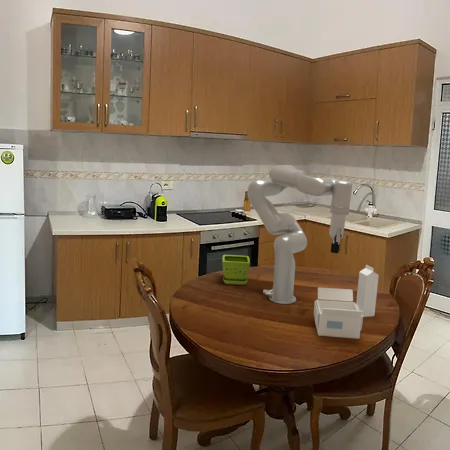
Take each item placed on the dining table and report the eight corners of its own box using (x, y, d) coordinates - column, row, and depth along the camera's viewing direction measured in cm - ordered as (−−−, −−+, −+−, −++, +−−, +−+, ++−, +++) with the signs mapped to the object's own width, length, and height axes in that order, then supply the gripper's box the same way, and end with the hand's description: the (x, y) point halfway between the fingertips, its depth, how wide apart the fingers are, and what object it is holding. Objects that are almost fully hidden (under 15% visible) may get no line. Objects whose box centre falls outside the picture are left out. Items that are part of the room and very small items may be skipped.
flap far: (353, 301, 206) (352, 301, 206) (352, 289, 208) (352, 290, 209) (317, 298, 207) (317, 299, 207) (317, 287, 209) (317, 287, 210)
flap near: (321, 313, 191) (321, 314, 190) (323, 307, 186) (323, 308, 186) (360, 316, 190) (360, 317, 189) (362, 310, 185) (362, 311, 185)
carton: (316, 335, 193) (318, 313, 191) (312, 319, 209) (314, 299, 207) (361, 338, 192) (363, 317, 190) (354, 322, 207) (356, 302, 205)
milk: (362, 317, 214) (367, 268, 209) (355, 312, 220) (359, 264, 215) (374, 316, 216) (379, 268, 211) (367, 311, 221) (371, 264, 217)
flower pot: (248, 286, 248) (250, 262, 245) (221, 285, 248) (222, 261, 245) (247, 278, 261) (249, 255, 259) (221, 277, 261) (222, 254, 259)
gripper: (328, 206, 211) (324, 247, 216) (332, 212, 197) (327, 256, 201) (346, 207, 211) (341, 248, 215) (351, 214, 196) (345, 258, 200)
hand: (334, 252), depth 208 cm, fingers closed
